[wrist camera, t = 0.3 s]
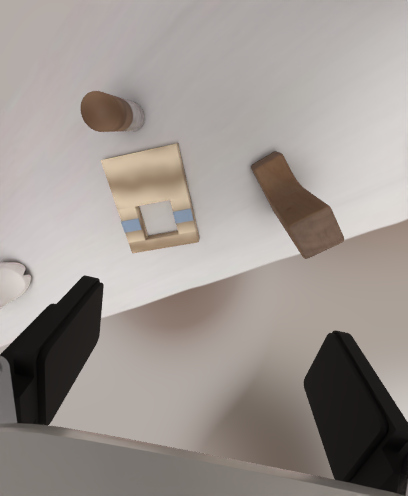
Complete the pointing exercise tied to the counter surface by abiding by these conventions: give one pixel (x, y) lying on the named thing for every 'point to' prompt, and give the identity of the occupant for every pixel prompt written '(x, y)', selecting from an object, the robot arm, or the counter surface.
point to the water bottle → (12, 281)
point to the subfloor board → (151, 195)
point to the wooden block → (297, 207)
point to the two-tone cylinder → (111, 113)
